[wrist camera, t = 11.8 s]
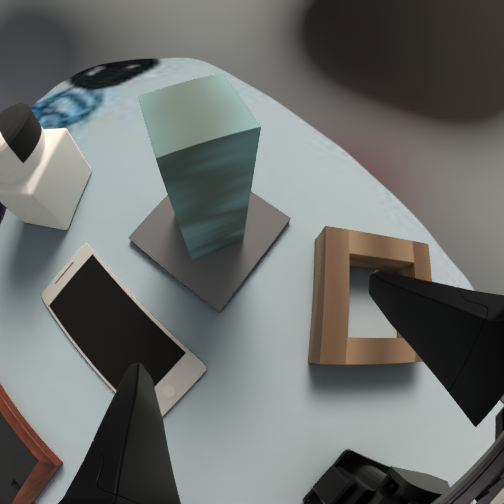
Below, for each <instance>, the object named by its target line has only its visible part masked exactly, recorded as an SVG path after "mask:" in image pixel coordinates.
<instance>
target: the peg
mask: <svg viewBox="0 0 504 504" xmlns="http://www.w3.org/2000/svg"><path fill="white" fill-rule="evenodd" d="M138 99H139V103H140V106H141V110H142V114H143V117H144V121H145V124H146V128H147V131H148V134H149V138H150V141H151V144H152V148H153V151H154V154H155V157H156V160H157V164H158V167H159V170H160V173H161V176H162V179H163V182H164V185H165V188H166V190H167V193H168V196H169V199H170V202H171V205H172V208H173V210H174V213H175V216H176V219H177V222H178V224H179V227H180V230H181V232H182V235H183V238H184V240H185V243H186V246H187V248H188V251H189V253H190V256H191V259H192V260H194V259H196V258H199V257H201V256H204V255H206V254H209V253H211V252H214V251H217V250H219V249H222V248H224V247H227V246H230V245H232V244H235V243H237V242H240V241H243V240H244V233H245V226H246V220H247V213H248V206H249V200H250V193H251V187H252V180H253V174H254V167H255V161H256V154H257V148H258V142H259V135H260V129H261V126H260V124H259V123H258V121H257V120H256V118H255V117H254V115H253V114H252V113H251V111H250V110H249V108H248V107H247V105H246V104H245V102H244V101H243V99H242V98H241V97H240V95H239V94H238V92H237V91H236V89H235V88H234V87H233V85H232V84H231V82H230V81H229V80H228V78H227V77H226V76H225V74H224V73H221V74H216V75H211V76H207V77H203V78H199V79H194V80H191V81H187V82H183V83H179V84H176V85H172V86H169V87H166V88H162V89H159V90H156V91H153V92H150V93H147V94H144V95H141V96H138Z"/></svg>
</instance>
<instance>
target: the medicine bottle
mask: <svg viewBox="0 0 504 504" xmlns="http://www.w3.org/2000/svg"><path fill="white" fill-rule="evenodd" d="M91 173H92V170H91V168H90V166H89V165H88V163H87V161H86V160H85V158H84V157H83V155H82V153H81V152H80V150H79V148H78V147H77V145H76V143H75V142H74V140H73V138H72V137H71V135H70V133H69V132H68V130H67V129H66V128H61V129H47V130H43V128H42V127H41V125H40V123H39V122H38V120H37V119H36V117H35V115H34V114H33V112H32V110H31V109H30V107H29V106H28V105H27V104H22V103H20V104H16V105H13V106H11V107H9V108H8V109H6V110H4V111H3V112H1V113H0V202H1V203H2V204H3V205H4V206H5V207H7V208H8V209H9V210H10V211H11V212H13V213H14V214H15V215H16V216H17V217H19V218H20V219H21V220H22V221H24V222H26V223H31V224H36V225H41V226H46V227H51V228H57V229H62V230H67V229H68V228H69V226H70V223H71V220H72V217H73V215H74V212H75V210H76V207H77V205H78V202H79V200H80V197H81V195H82V193H83V190H84V188H85V186H86V183H87V181H88V179H89V177H90V175H91Z"/></svg>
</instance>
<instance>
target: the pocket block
mask: <svg viewBox="0 0 504 504" xmlns="http://www.w3.org/2000/svg"><path fill="white" fill-rule="evenodd" d="M349 266H354V267H362V268H370V269H378V270H386V271H394V272H397V274H399V275H404V276H408V277H413V278H417V279H422V280H426V281H431V282H432V278H431V266H430V256H429V247H428V244H425V243H420V242H415V241H409V240H404V239H399V238H393V237H388V236H382V235H376V234H371V233H365V232H359V231H353V230H347V229H341V228H335V227H328V226H325V228H324V229H323V230H322V232H321V233H320V234H319V235H318V237H317V238H316V239H315V257H314V283H313V302H312V318H311V332H310V345H309V356H308V362H309V363H316V364H340V365H354V364H390V363H408V362H421V361H423V360H422V359H421V358H420V357H419V356H418V355H417V353H416V352H415V351H414V350H413V349H412V348H411V346H410V345H409V344H408V343H407V342H406V341H405V339H404V338H403V337H402V336H401V335H400V334H399V333H398V331H397V338H347V337H348V317H349Z"/></svg>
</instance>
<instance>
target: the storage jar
mask: <svg viewBox="0 0 504 504" xmlns="http://www.w3.org/2000/svg"><path fill="white" fill-rule="evenodd" d="M5 210H6V207H5V206H4V205H3V204H2V203H1V202H0V223H1V221H2V219H3V216H4V214H5Z"/></svg>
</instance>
